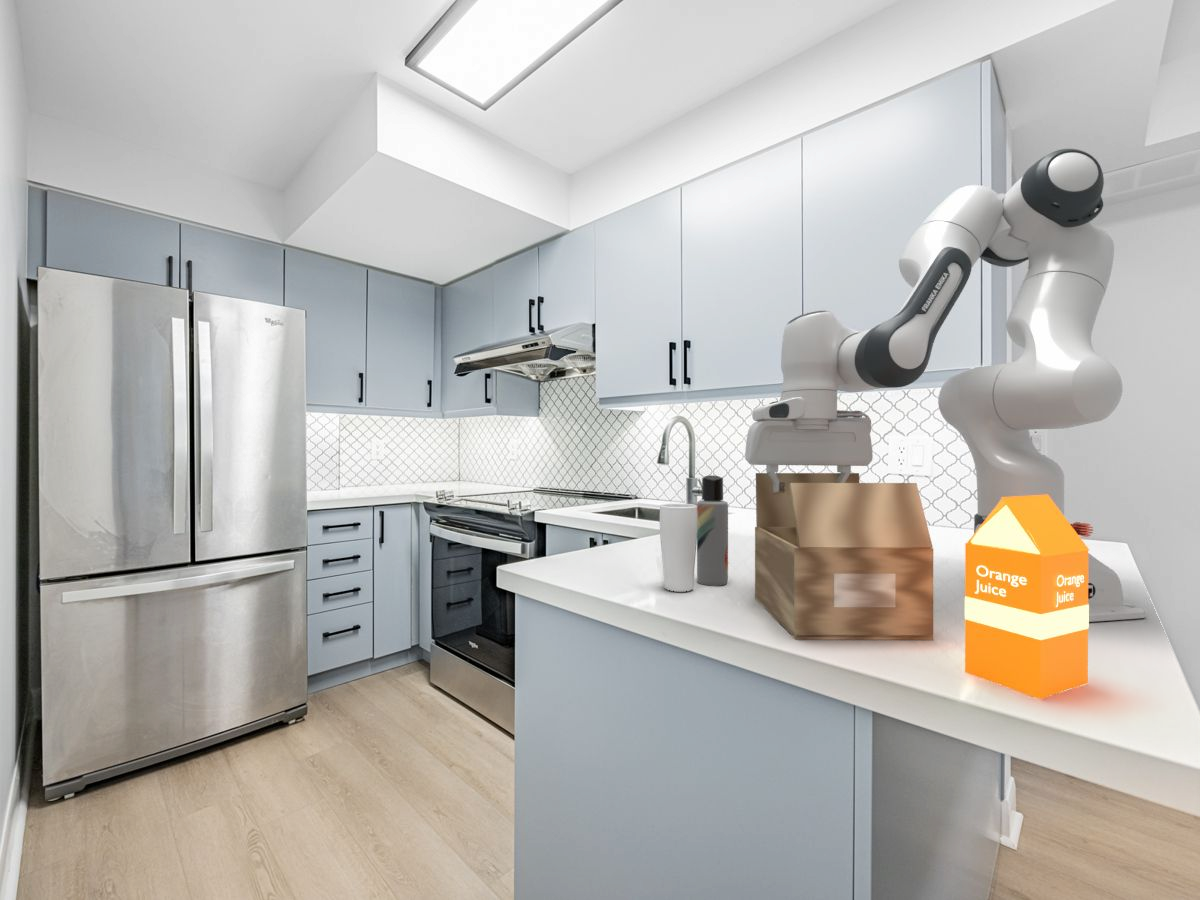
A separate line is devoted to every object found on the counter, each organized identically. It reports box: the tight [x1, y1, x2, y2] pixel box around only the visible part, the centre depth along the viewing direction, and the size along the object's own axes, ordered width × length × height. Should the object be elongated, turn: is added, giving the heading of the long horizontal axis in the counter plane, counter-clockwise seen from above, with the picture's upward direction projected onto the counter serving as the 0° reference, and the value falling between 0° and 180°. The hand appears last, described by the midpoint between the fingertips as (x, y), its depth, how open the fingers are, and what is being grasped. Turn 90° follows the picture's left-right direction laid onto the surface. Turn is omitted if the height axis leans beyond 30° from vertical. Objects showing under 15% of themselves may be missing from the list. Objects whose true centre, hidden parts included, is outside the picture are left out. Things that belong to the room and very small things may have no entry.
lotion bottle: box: [696, 475, 729, 587], centre depth 104 cm, size 6×6×20 cm
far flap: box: [755, 472, 860, 527], centre depth 94 cm, size 17×9×1 cm
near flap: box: [789, 482, 934, 549], centre depth 75 cm, size 17×9×1 cm
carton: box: [754, 526, 934, 641], centre depth 83 cm, size 18×20×12 cm
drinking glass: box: [659, 503, 698, 593], centre depth 99 cm, size 7×7×15 cm
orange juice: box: [964, 495, 1090, 700], centre depth 61 cm, size 8×9×20 cm
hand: (807, 493), depth 92 cm, fingers open, 8 cm apart
